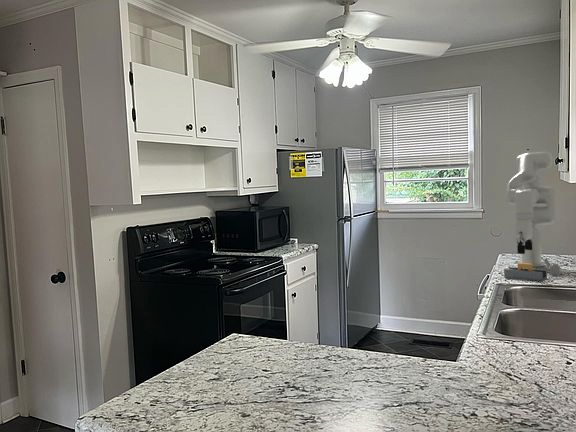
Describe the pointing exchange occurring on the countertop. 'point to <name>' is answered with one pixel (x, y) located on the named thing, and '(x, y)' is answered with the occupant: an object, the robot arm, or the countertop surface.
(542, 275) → the grey flat block
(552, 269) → the grey irregular flat piece
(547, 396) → the countertop surface
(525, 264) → the clip
